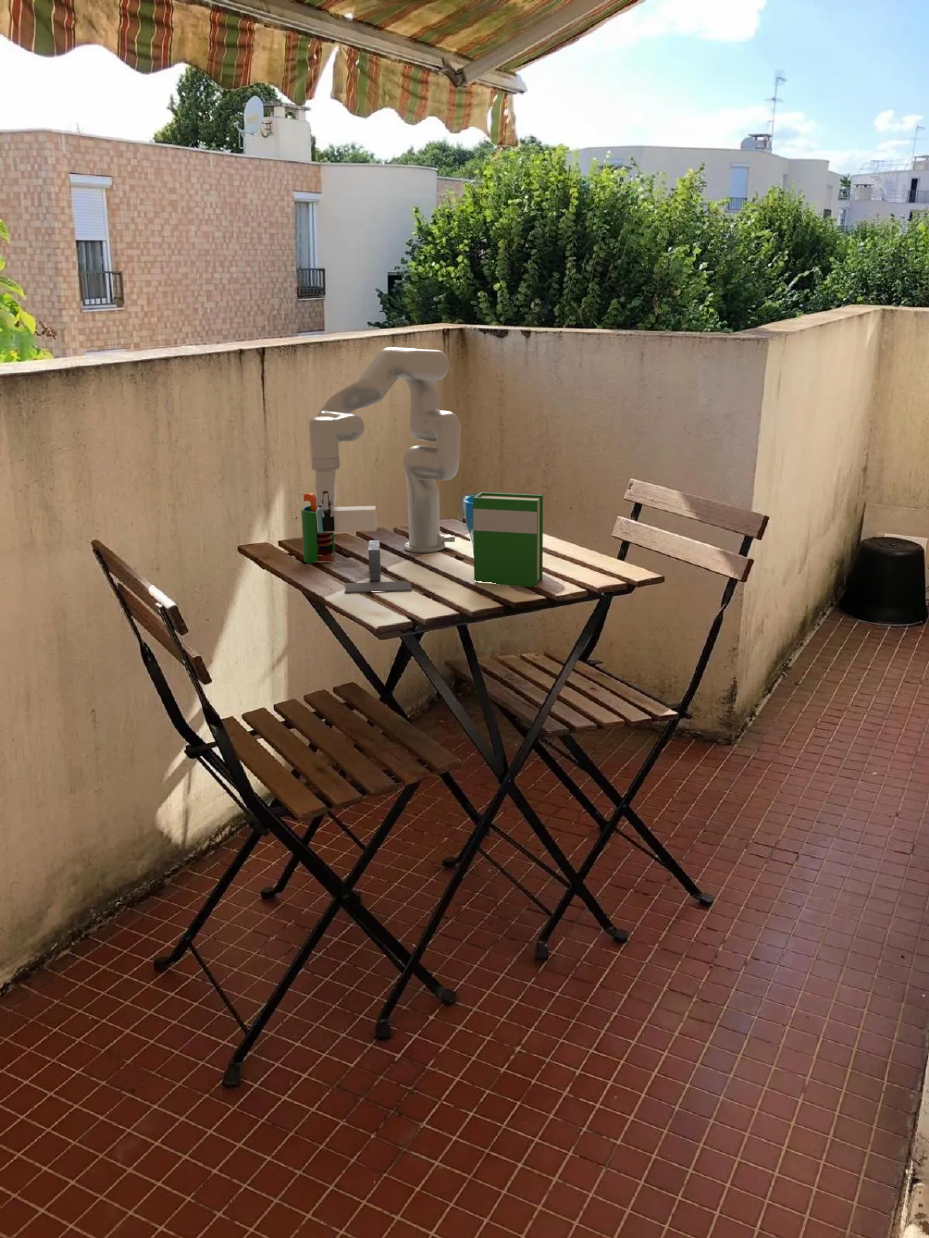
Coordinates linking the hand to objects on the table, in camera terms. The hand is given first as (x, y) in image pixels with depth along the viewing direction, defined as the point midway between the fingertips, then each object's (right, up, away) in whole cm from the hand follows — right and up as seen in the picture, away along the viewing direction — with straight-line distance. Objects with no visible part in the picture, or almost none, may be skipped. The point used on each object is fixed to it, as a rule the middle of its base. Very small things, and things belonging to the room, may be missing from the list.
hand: (329, 528), depth 303 cm
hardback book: (+49, -15, +2) cm, 52 cm away
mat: (+14, -17, -2) cm, 22 cm away
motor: (-6, -7, +26) cm, 28 cm away
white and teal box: (+5, 0, 0) cm, 5 cm away
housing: (+12, -12, +10) cm, 20 cm away
